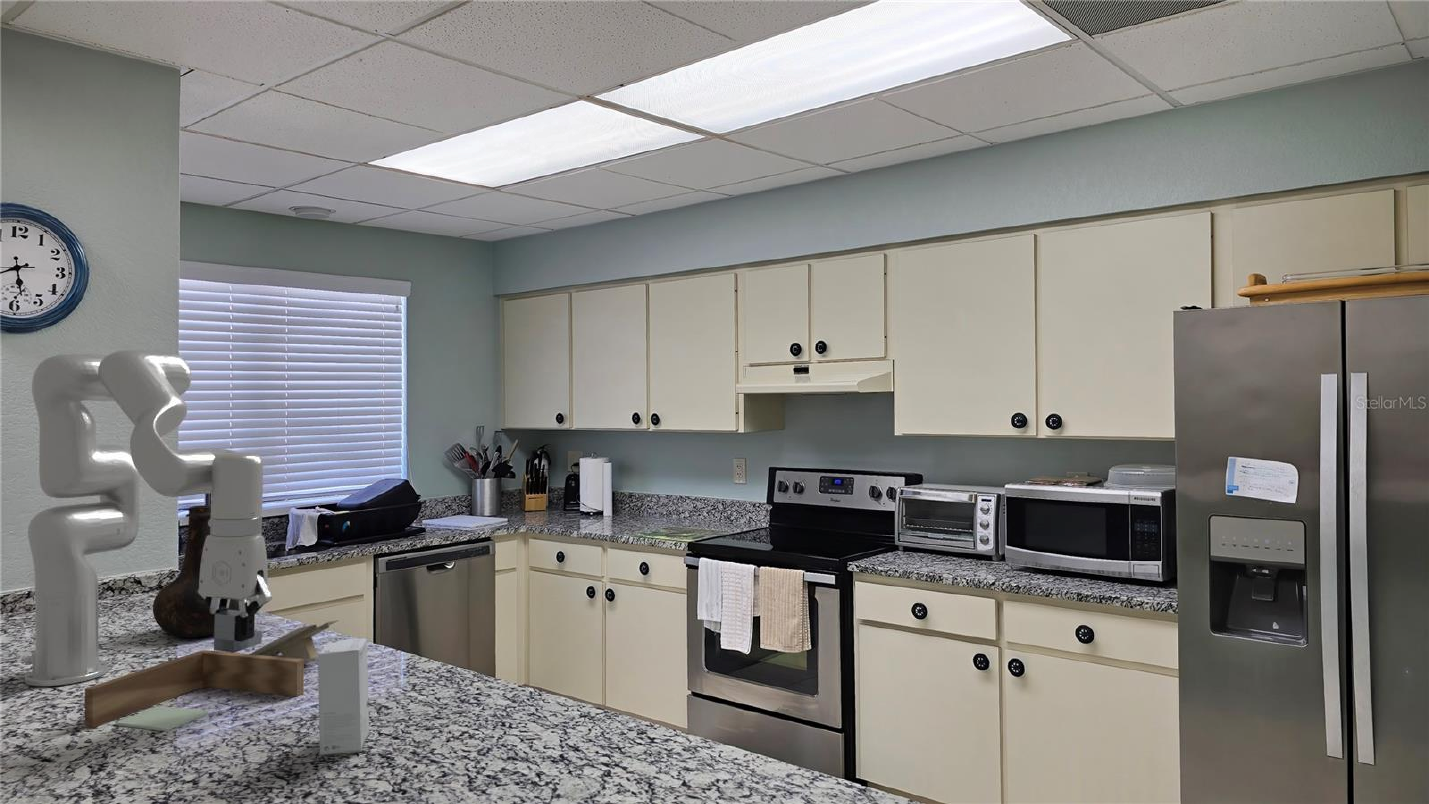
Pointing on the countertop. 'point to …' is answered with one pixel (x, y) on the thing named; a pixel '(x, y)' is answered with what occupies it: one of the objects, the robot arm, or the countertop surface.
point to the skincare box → (343, 696)
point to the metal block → (231, 633)
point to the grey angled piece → (295, 644)
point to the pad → (161, 718)
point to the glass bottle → (188, 587)
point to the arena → (192, 682)
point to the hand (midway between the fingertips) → (233, 636)
